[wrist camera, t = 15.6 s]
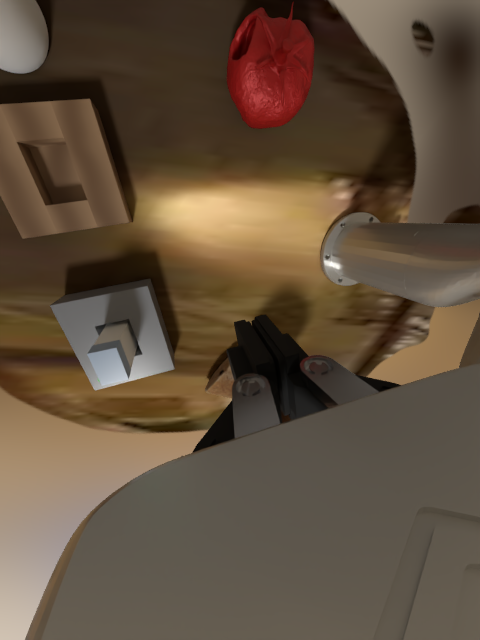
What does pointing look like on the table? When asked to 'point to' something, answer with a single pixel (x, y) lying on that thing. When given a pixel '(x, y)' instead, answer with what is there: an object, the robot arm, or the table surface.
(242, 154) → the table surface
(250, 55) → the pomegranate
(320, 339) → the table surface
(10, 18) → the milk bottle
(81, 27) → the table surface
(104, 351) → the plug
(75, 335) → the port block
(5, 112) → the slotted socket block
